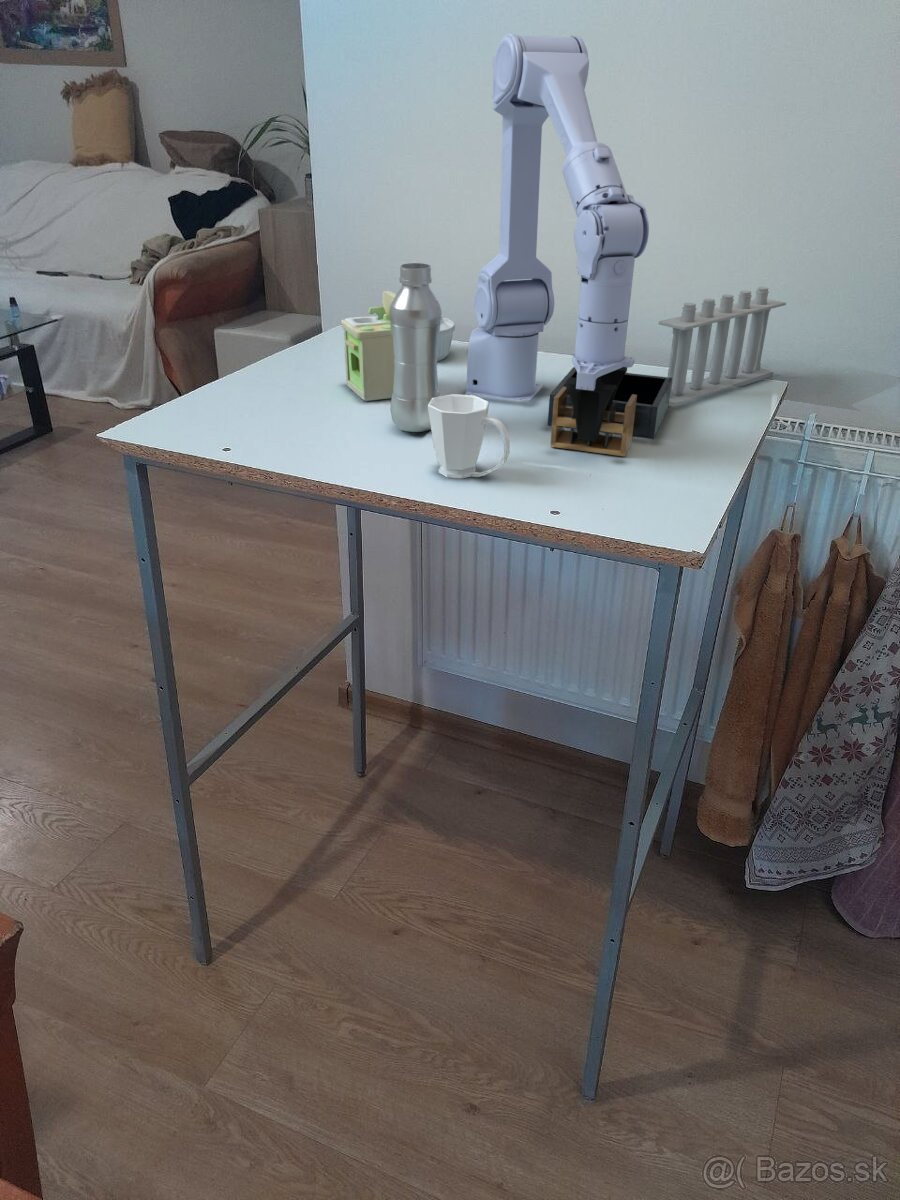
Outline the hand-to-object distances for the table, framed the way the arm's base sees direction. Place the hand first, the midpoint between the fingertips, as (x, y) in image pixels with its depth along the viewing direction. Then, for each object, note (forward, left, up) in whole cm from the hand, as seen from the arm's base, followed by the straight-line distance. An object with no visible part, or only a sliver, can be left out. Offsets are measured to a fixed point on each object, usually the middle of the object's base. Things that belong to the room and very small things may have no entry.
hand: (591, 432), depth 113 cm
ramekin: (-35, +33, -3) cm, 47 cm away
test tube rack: (+12, +32, -3) cm, 35 cm away
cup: (-12, -12, -3) cm, 17 cm away
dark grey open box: (0, +13, -2) cm, 13 cm away
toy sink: (-34, +13, -3) cm, 36 cm away
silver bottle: (-23, 0, -3) cm, 23 cm away
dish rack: (0, 0, -2) cm, 2 cm away
